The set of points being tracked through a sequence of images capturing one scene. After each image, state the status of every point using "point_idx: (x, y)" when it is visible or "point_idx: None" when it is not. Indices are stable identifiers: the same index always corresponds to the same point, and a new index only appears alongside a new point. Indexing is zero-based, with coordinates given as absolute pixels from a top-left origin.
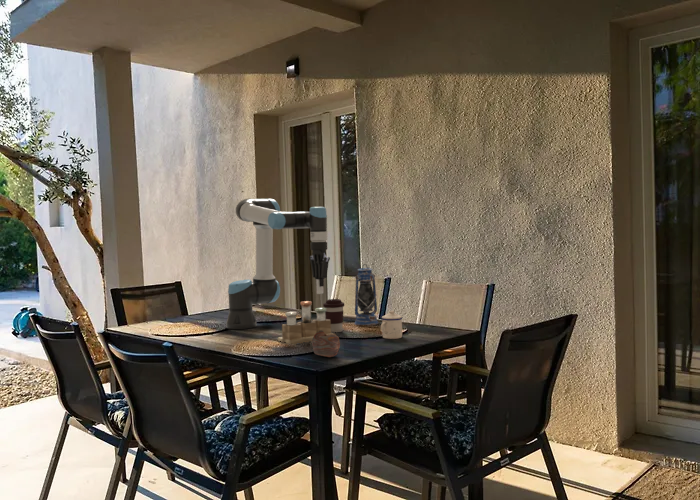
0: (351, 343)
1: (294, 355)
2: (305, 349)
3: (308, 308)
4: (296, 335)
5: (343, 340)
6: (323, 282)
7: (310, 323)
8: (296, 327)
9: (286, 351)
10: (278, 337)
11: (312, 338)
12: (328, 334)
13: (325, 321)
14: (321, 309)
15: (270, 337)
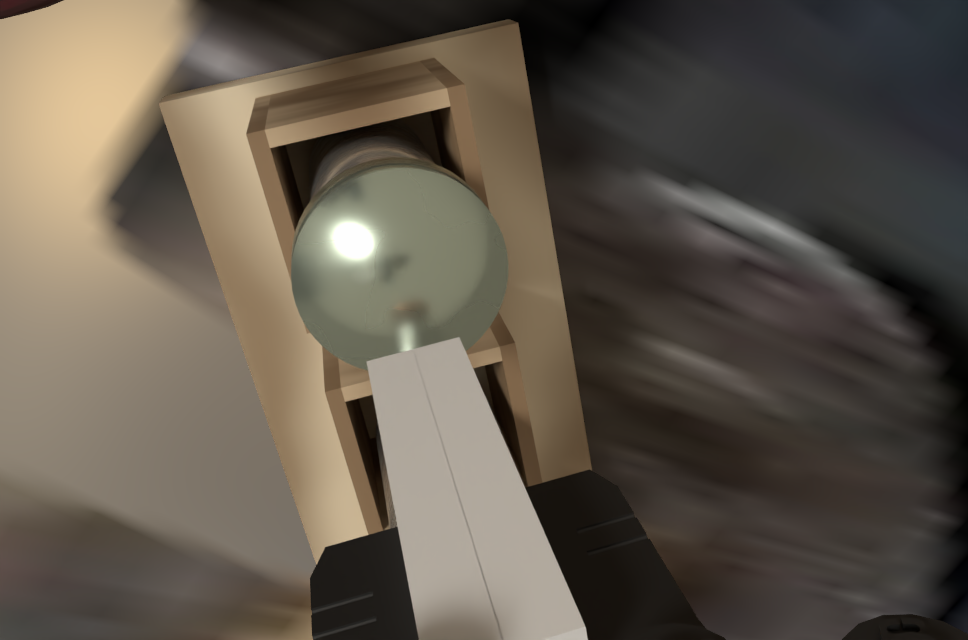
0: (931, 44)
1: (951, 615)
2: (840, 502)
3: None
4: None
5: (741, 39)
6: (653, 554)
7: (528, 421)
8: None
9: (798, 633)
10: None
11: (570, 354)
12: (504, 127)
13: (483, 181)
14: (501, 300)
15: (98, 634)
